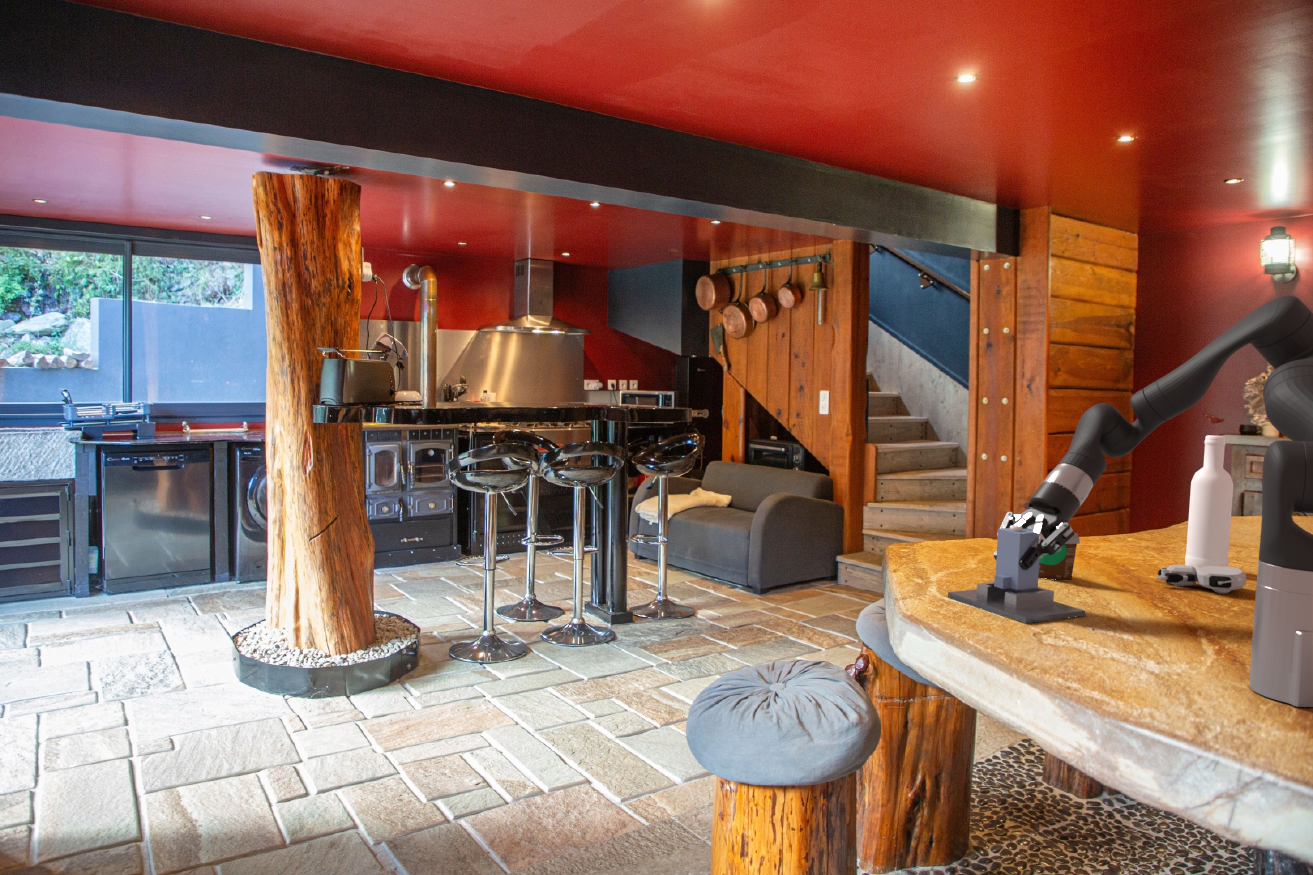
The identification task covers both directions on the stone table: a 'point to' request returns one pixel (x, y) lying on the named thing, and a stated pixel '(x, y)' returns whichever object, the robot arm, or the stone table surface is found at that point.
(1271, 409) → the robot arm
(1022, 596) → the plate
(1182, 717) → the stone table surface
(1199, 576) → the robot toy
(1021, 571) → the block
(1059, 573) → the food container
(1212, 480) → the bottle
